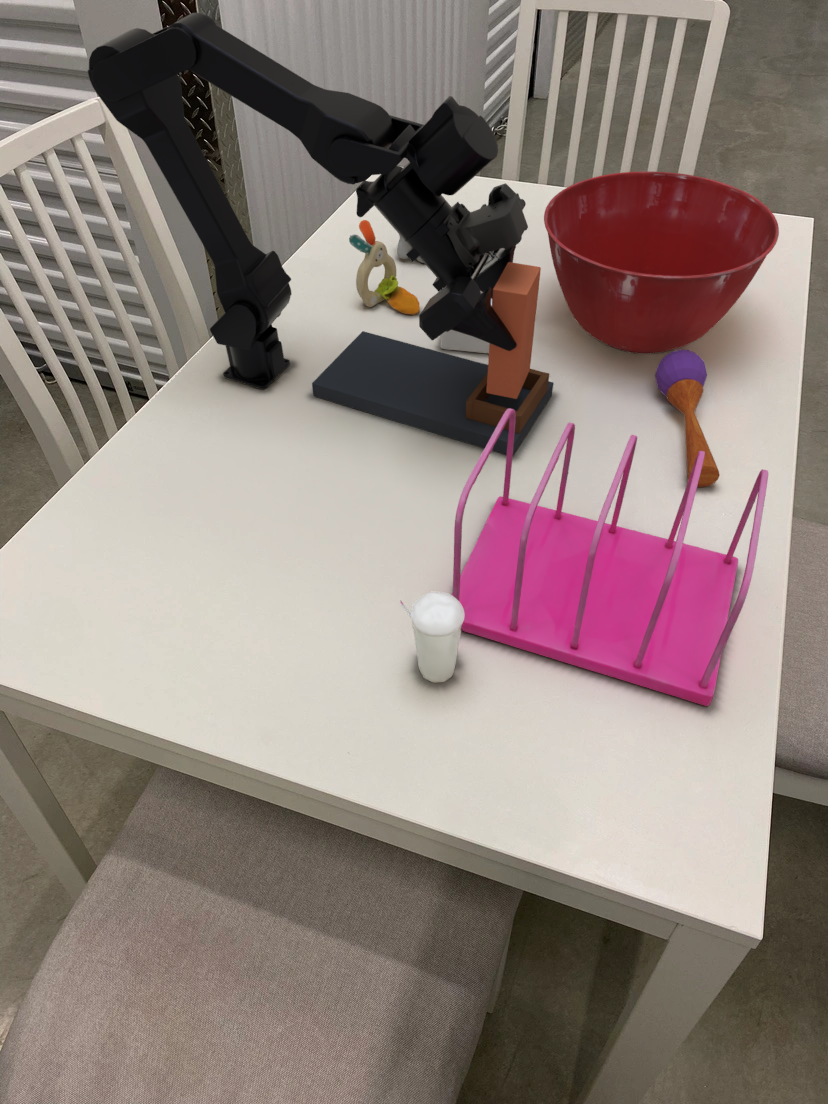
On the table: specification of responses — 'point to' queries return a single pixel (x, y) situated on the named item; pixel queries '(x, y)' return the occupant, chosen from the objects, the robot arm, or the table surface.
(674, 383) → the purple and brown maraca
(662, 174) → the mixing bowl
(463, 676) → the table surface
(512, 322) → the terracotta rectangular block
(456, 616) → the milkshake
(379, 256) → the rattle
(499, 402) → the dark board with frame
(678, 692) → the file sorter
